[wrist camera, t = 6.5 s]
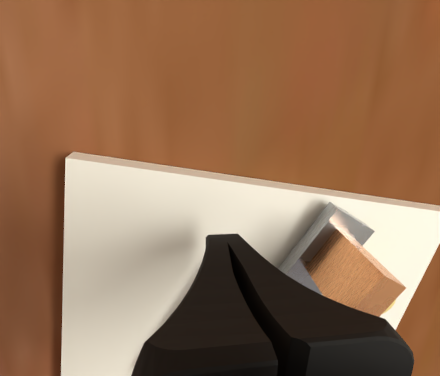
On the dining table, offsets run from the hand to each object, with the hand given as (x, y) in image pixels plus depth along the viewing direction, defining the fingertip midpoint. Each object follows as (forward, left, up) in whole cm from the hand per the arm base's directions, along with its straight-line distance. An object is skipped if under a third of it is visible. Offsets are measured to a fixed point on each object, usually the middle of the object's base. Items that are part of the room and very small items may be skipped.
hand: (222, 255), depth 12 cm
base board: (-3, +6, -3) cm, 8 cm away
